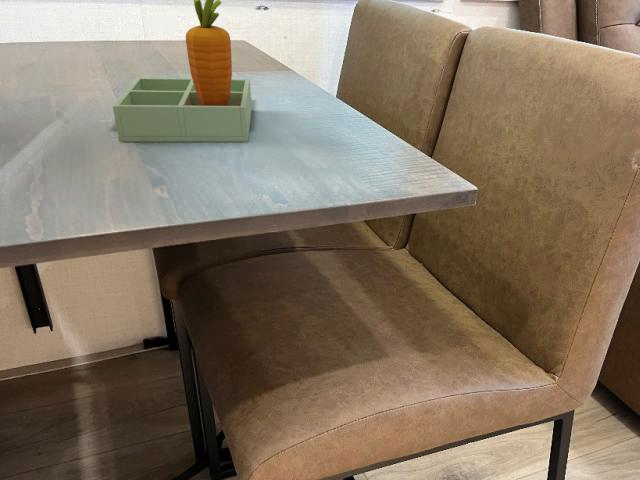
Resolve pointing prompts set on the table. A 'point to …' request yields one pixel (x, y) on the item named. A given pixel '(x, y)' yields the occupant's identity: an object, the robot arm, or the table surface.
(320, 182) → the table surface
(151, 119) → the grid
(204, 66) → the carrot
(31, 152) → the table surface
